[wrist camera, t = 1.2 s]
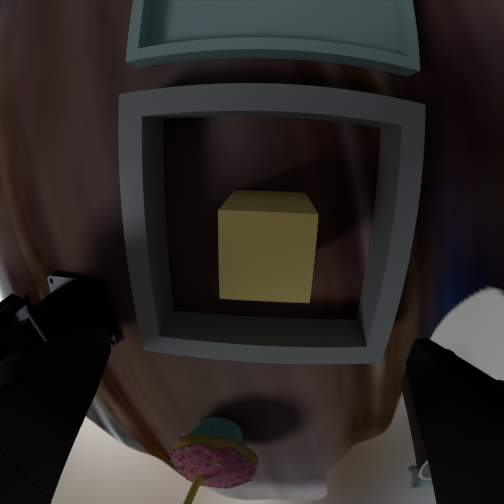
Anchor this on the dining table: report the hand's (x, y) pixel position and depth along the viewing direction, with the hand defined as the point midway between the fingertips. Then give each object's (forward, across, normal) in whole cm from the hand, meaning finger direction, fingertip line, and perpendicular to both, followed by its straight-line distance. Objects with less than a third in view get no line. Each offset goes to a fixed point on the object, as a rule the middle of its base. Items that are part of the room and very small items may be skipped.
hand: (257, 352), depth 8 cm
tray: (+13, 0, -17) cm, 21 cm away
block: (+13, 0, 0) cm, 13 cm away
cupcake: (+13, +4, +22) cm, 26 cm away
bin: (+13, 0, 0) cm, 13 cm away
